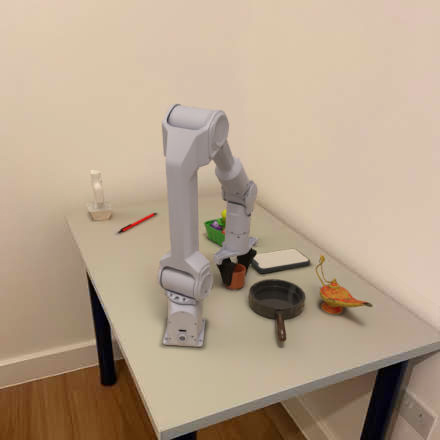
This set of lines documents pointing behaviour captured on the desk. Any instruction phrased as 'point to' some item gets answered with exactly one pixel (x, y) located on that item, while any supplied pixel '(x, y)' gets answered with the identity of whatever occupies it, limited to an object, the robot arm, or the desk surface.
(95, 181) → the figurine
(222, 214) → the fruit basket
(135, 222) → the pen
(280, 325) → the pan handle
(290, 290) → the pan
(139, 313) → the desk surface
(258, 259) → the phone case
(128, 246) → the desk surface
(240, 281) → the terracotta cup
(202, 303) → the robot arm
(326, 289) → the magic lamp
